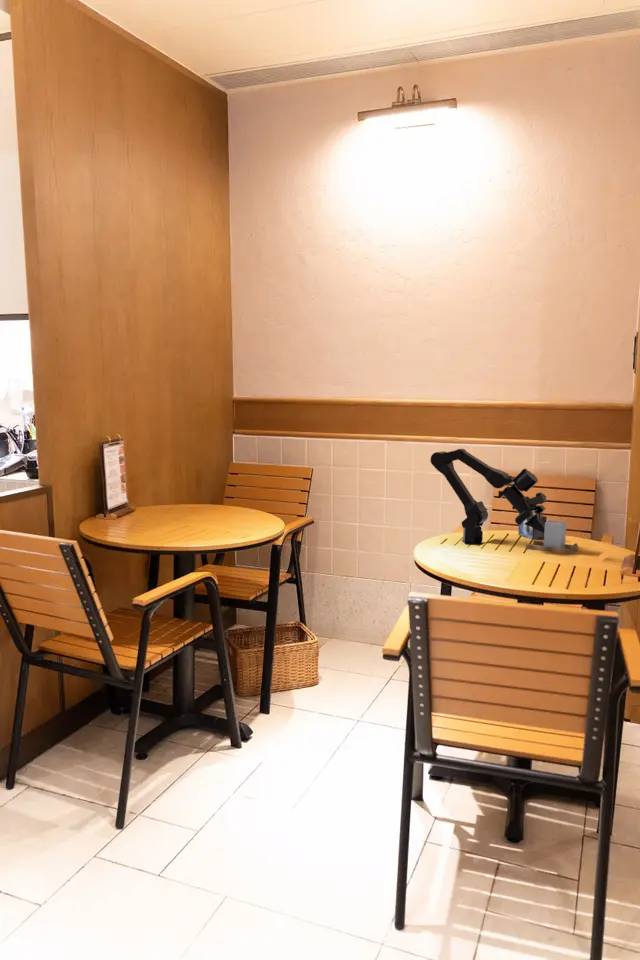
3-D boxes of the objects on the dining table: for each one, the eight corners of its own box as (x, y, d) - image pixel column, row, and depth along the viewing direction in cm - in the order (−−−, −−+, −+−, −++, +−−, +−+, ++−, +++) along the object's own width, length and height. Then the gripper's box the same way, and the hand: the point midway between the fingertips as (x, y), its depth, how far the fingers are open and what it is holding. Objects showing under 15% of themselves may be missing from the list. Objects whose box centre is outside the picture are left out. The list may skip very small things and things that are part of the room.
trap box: (525, 552, 281) (525, 541, 281) (534, 548, 290) (534, 537, 289) (569, 558, 272) (570, 547, 272) (577, 553, 281) (578, 543, 281)
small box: (516, 538, 308) (518, 512, 307) (531, 537, 310) (532, 511, 309) (531, 543, 298) (533, 516, 297) (546, 543, 300) (547, 516, 299)
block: (543, 549, 279) (544, 522, 278) (548, 547, 284) (549, 520, 283) (560, 552, 276) (561, 524, 275) (564, 549, 281) (566, 522, 280)
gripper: (525, 488, 275) (555, 522, 270) (541, 483, 290) (569, 515, 286) (502, 508, 280) (531, 541, 275) (519, 502, 295) (547, 534, 291)
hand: (545, 532), depth 281 cm, fingers closed
